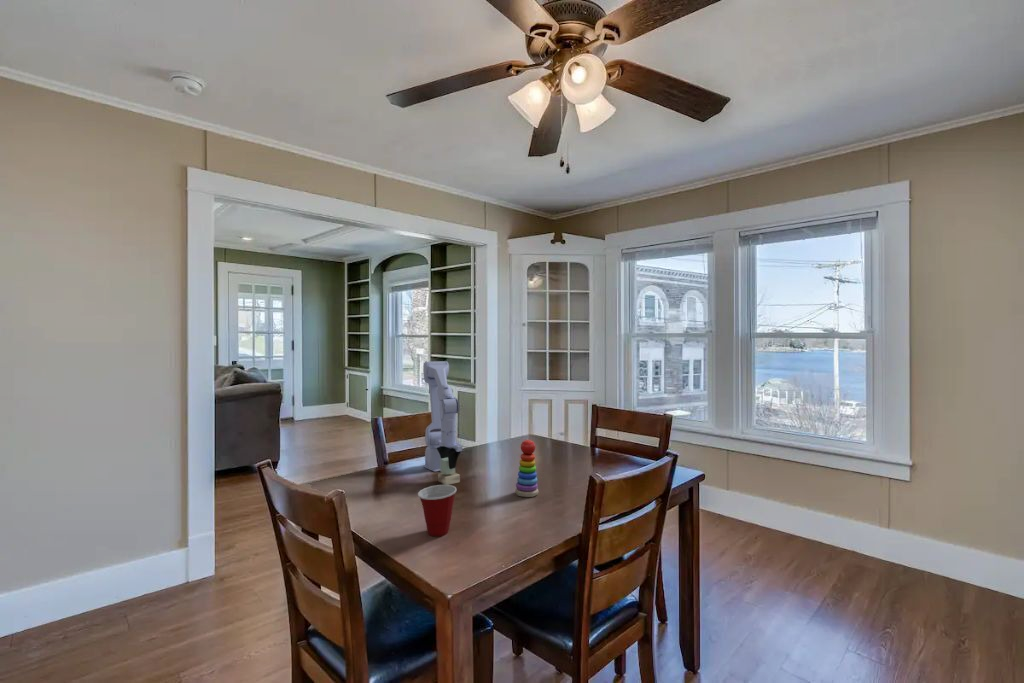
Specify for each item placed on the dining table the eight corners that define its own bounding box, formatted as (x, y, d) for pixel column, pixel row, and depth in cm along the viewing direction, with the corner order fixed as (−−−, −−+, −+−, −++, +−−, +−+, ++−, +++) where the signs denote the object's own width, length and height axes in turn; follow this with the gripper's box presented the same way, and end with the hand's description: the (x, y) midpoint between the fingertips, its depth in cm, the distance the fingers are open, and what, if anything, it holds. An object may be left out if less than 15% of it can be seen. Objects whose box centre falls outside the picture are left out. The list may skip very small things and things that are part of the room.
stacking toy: (536, 498, 156) (536, 443, 156) (513, 497, 158) (513, 442, 157) (540, 491, 164) (540, 438, 163) (517, 489, 165) (518, 437, 165)
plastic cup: (420, 524, 135) (420, 483, 135) (457, 523, 135) (457, 483, 135) (414, 541, 124) (414, 497, 124) (455, 540, 125) (455, 496, 124)
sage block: (440, 472, 174) (440, 458, 174) (449, 470, 176) (449, 456, 176) (446, 474, 171) (446, 461, 171) (455, 472, 173) (455, 459, 173)
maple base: (437, 481, 174) (437, 473, 174) (451, 478, 178) (451, 470, 178) (445, 485, 170) (445, 477, 170) (459, 482, 173) (459, 474, 173)
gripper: (429, 429, 176) (429, 464, 177) (450, 435, 165) (450, 473, 166) (445, 426, 181) (445, 461, 181) (466, 432, 170) (466, 469, 170)
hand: (448, 466), depth 174 cm, fingers closed on sage block, 4 cm apart
